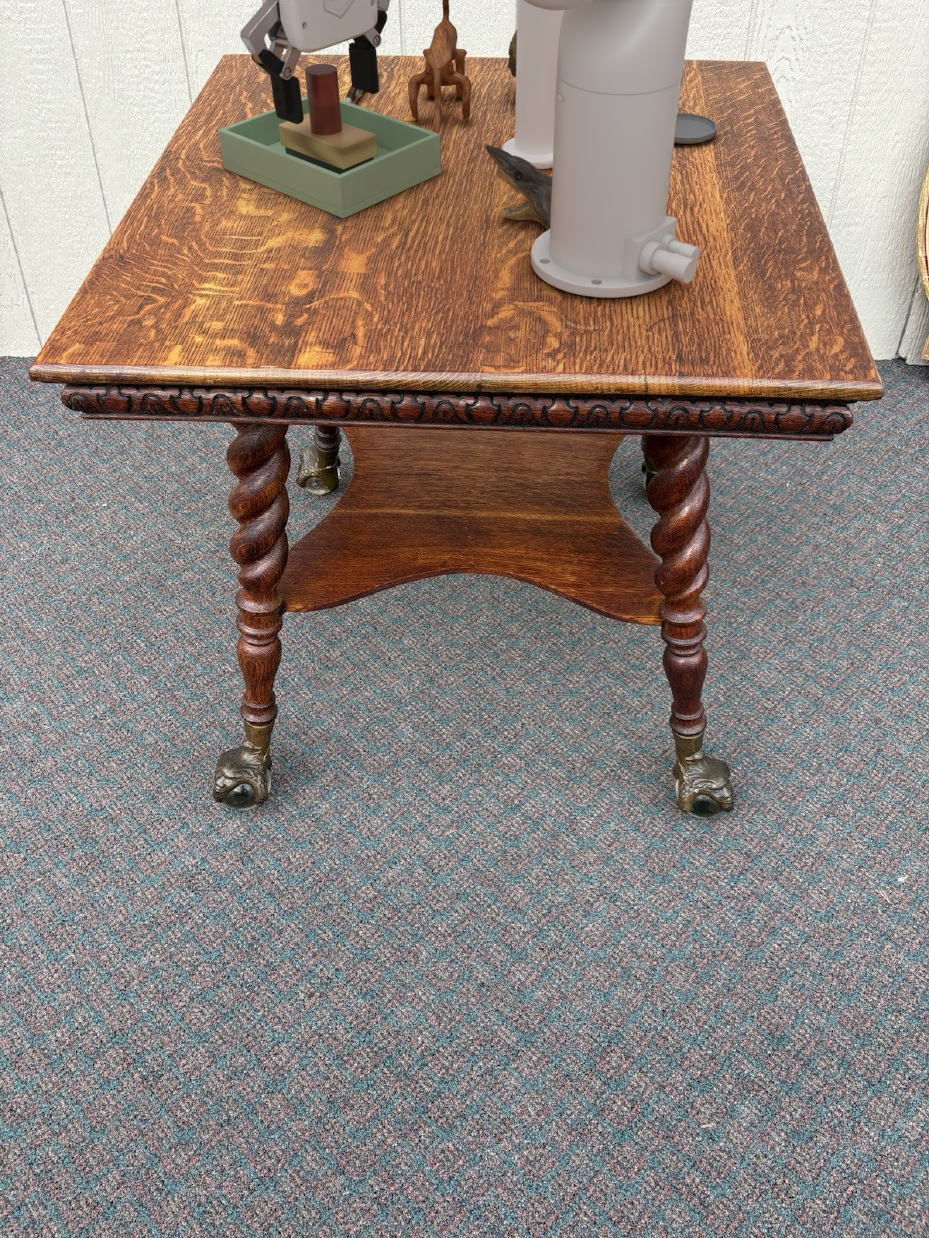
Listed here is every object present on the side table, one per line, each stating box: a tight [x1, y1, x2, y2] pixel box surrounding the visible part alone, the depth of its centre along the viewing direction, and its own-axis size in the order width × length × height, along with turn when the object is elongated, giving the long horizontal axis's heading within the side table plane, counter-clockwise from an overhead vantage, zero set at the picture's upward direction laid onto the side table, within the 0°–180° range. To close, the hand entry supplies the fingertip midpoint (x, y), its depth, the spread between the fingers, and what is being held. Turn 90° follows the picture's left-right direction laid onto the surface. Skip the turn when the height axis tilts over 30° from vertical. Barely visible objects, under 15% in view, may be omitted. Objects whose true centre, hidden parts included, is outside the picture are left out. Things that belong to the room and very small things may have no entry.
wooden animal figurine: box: [407, 0, 472, 134], centre depth 117 cm, size 18×7×14 cm, turn 176°
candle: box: [501, 0, 564, 170], centre depth 106 cm, size 7×7×25 cm
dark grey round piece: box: [674, 75, 718, 145], centre depth 115 cm, size 8×8×10 cm
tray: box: [217, 95, 442, 219], centre depth 111 cm, size 17×13×4 cm
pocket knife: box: [344, 60, 378, 105], centre depth 127 cm, size 14×1×2 cm, turn 169°
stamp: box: [278, 63, 377, 175], centre depth 109 cm, size 9×4×9 cm, turn 48°
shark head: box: [484, 144, 552, 232], centre depth 101 cm, size 8×6×7 cm
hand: (328, 105), depth 108 cm, fingers open, 9 cm apart
